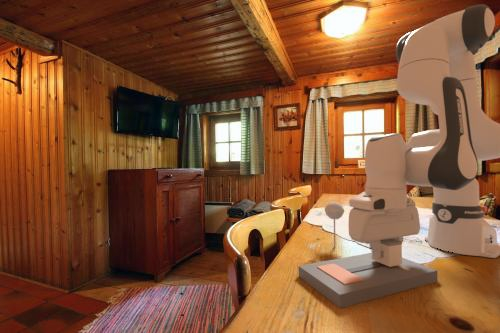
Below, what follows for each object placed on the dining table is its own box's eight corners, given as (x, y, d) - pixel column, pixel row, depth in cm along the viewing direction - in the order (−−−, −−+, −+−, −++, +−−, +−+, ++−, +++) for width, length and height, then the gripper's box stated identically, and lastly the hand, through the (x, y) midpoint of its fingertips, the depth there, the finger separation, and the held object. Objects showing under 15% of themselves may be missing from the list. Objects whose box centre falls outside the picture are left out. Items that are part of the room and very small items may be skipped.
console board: (383, 259, 66) (382, 249, 66) (437, 281, 53) (437, 269, 53) (298, 276, 56) (298, 264, 56) (340, 308, 43) (339, 293, 43)
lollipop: (346, 245, 78) (345, 201, 79) (342, 250, 73) (342, 203, 74) (327, 242, 82) (326, 200, 82) (322, 247, 77) (322, 202, 77)
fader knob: (383, 256, 60) (382, 236, 60) (402, 264, 55) (401, 241, 55) (371, 259, 59) (371, 237, 59) (389, 267, 54) (389, 243, 54)
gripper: (402, 196, 64) (403, 246, 64) (343, 200, 57) (344, 257, 56) (427, 198, 58) (428, 254, 58) (364, 203, 51) (365, 267, 51)
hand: (386, 255), depth 57 cm, fingers closed on fader knob, 4 cm apart
